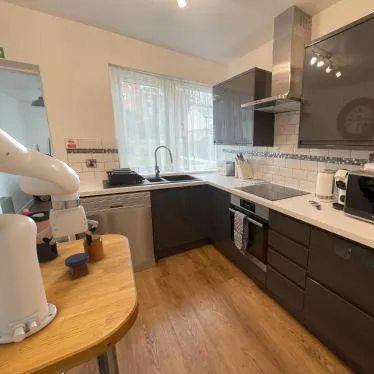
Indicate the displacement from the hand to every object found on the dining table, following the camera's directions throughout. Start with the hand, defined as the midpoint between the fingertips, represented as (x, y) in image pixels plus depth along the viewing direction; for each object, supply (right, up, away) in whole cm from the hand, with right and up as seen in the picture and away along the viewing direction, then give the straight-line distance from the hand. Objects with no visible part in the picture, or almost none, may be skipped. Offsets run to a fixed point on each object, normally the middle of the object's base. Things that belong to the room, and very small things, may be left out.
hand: (73, 248), depth 80 cm
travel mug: (-21, -8, +12) cm, 25 cm away
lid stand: (0, -10, +3) cm, 10 cm away
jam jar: (-1, -8, +13) cm, 15 cm away
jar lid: (0, -4, +2) cm, 5 cm away
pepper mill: (-31, -6, +17) cm, 36 cm away
